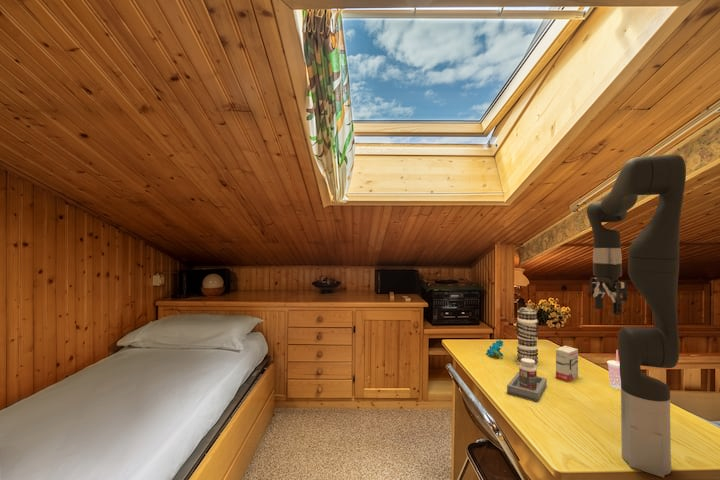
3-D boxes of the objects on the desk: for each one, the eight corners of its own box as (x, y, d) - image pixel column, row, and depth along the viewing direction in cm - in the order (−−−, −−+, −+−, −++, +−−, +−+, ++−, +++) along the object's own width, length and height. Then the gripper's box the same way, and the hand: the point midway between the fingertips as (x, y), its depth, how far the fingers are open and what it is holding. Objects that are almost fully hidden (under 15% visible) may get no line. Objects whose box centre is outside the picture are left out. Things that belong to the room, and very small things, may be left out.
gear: (484, 347, 165) (499, 335, 162) (493, 356, 164) (509, 344, 161) (486, 358, 154) (502, 345, 151) (495, 367, 153) (512, 354, 151)
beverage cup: (623, 384, 125) (623, 348, 125) (631, 391, 119) (630, 353, 120) (604, 382, 127) (604, 346, 127) (610, 389, 122) (610, 351, 122)
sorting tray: (538, 402, 112) (538, 393, 112) (507, 393, 118) (507, 385, 118) (546, 386, 124) (546, 378, 124) (518, 379, 130) (518, 371, 130)
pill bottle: (531, 392, 117) (531, 364, 117) (516, 386, 122) (516, 359, 122) (539, 387, 121) (539, 360, 121) (524, 382, 125) (524, 356, 125)
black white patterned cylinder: (527, 359, 153) (526, 305, 154) (544, 366, 144) (543, 309, 145) (511, 361, 150) (511, 307, 151) (527, 368, 142) (527, 311, 142)
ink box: (568, 382, 127) (568, 352, 128) (555, 378, 132) (555, 348, 132) (578, 377, 132) (578, 348, 132) (565, 373, 136) (565, 345, 136)
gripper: (581, 260, 114) (582, 307, 114) (610, 263, 100) (610, 316, 100) (604, 260, 113) (604, 307, 113) (636, 263, 99) (636, 316, 99)
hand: (607, 311), depth 106 cm, fingers open, 8 cm apart
